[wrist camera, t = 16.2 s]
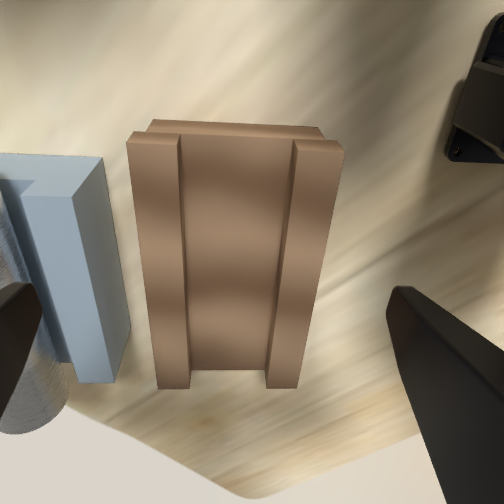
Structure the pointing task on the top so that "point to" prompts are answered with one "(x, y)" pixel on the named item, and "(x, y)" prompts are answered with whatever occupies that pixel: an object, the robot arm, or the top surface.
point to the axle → (40, 357)
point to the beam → (231, 243)
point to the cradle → (70, 256)
